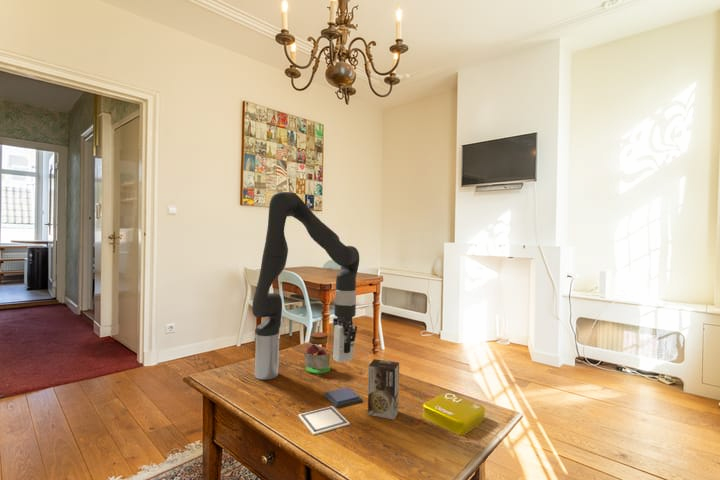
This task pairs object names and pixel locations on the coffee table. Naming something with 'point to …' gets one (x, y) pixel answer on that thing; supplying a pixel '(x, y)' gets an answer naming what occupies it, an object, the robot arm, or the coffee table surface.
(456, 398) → the element tile
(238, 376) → the coffee table surface
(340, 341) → the skincare box
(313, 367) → the multicoloured piece
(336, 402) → the ink pad
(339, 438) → the coffee table surface
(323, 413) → the marked card
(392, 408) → the coffee box
